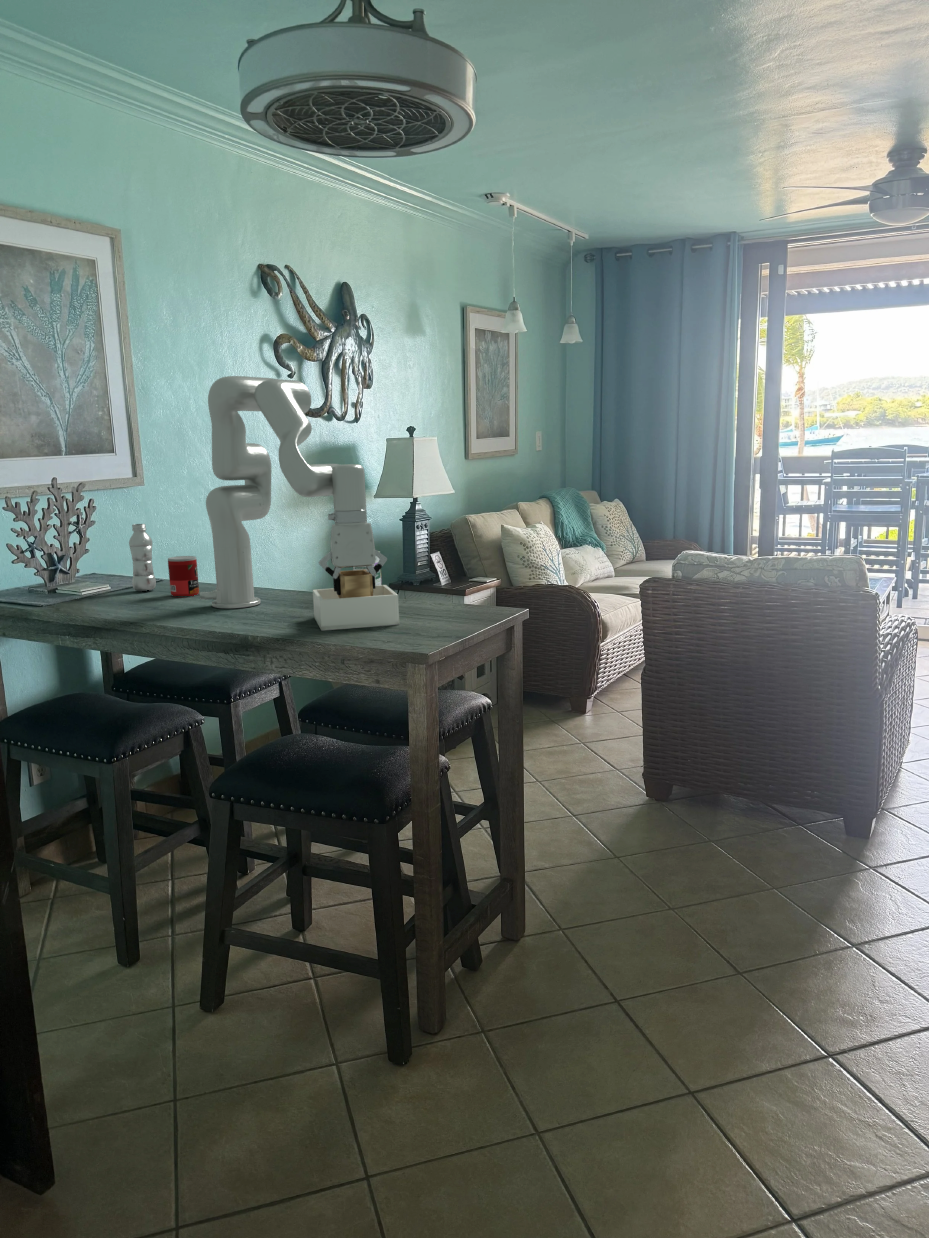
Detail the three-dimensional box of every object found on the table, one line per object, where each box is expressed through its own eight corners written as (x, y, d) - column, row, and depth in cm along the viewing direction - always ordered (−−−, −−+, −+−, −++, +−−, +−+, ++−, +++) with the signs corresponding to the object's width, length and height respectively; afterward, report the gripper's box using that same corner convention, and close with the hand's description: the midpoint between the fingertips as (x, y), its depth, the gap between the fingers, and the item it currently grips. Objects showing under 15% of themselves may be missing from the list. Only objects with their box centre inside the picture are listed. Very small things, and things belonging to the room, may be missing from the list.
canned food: (194, 597, 252) (191, 558, 250) (167, 597, 252) (163, 559, 250) (203, 592, 259) (199, 555, 257) (176, 593, 259) (172, 556, 257)
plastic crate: (321, 630, 201) (319, 600, 200) (314, 617, 216) (312, 589, 215) (399, 624, 206) (398, 594, 204) (387, 612, 221) (385, 584, 219)
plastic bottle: (132, 590, 266) (125, 524, 263) (156, 588, 269) (149, 522, 265) (133, 593, 261) (126, 525, 257) (157, 591, 263) (151, 524, 259)
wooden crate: (343, 602, 204) (341, 576, 203) (337, 596, 214) (336, 571, 212) (373, 600, 206) (372, 574, 205) (366, 593, 215) (365, 569, 214)
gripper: (314, 521, 200) (319, 598, 204) (390, 517, 205) (394, 592, 208) (311, 518, 208) (316, 593, 211) (384, 515, 212) (388, 588, 215)
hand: (354, 592), depth 210 cm, fingers closed on wooden crate, 7 cm apart
